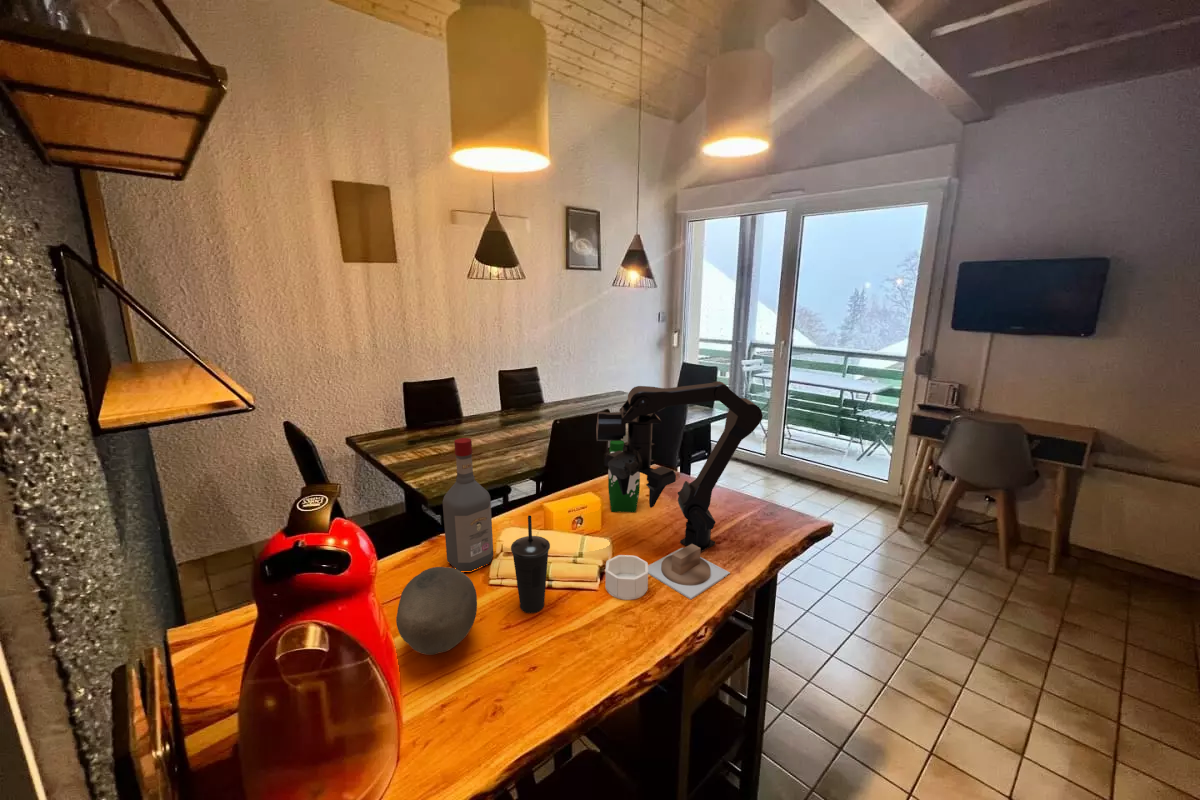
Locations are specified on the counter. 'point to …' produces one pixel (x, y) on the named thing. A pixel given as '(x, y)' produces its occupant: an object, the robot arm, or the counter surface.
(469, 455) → the liquor
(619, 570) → the bowl
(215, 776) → the counter surface
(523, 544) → the drinking cup
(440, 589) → the dark grey round stone
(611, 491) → the milk carton
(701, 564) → the lid
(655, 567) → the mat
